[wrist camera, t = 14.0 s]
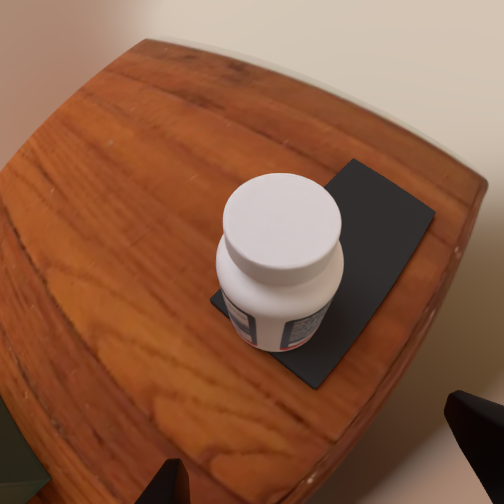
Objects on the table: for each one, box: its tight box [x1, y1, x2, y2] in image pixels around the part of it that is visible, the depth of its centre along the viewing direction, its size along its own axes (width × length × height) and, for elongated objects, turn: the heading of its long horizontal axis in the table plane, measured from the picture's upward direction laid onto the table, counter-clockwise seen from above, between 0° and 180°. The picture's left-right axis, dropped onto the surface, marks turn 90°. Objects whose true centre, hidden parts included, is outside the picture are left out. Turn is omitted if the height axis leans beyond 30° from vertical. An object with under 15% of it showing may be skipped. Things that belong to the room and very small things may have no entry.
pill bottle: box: [216, 173, 344, 352], centre depth 14 cm, size 5×5×9 cm
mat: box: [210, 158, 436, 390], centre depth 20 cm, size 16×8×1 cm, turn 138°
